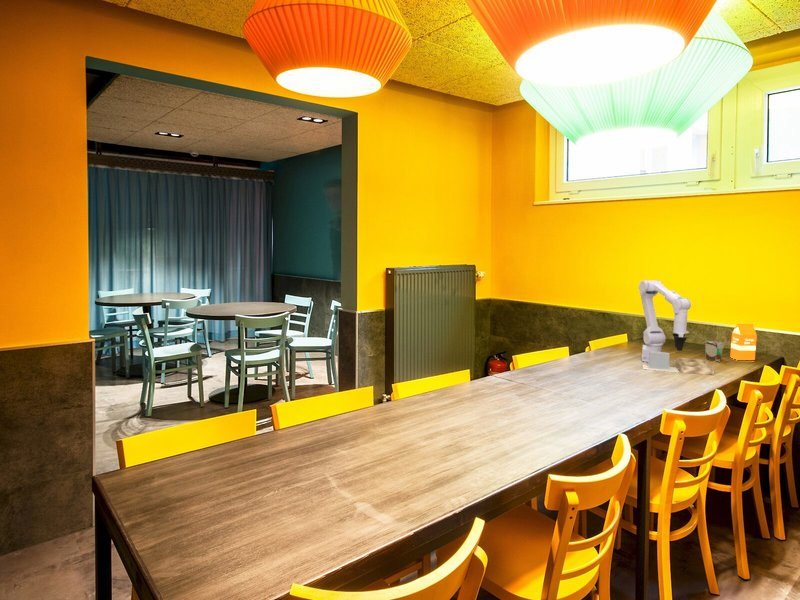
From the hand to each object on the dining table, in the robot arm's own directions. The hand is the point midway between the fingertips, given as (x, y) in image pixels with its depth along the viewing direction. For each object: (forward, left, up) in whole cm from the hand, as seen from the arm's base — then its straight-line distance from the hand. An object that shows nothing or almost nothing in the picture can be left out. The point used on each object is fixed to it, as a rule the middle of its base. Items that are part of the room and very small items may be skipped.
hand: (678, 349), depth 263 cm
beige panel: (-8, -3, -10) cm, 13 cm away
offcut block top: (+7, -3, -8) cm, 11 cm away
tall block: (-9, -3, -10) cm, 14 cm away
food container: (+22, +31, -11) cm, 40 cm away
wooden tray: (+8, +5, -10) cm, 14 cm away
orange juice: (+36, +40, -11) cm, 55 cm away
